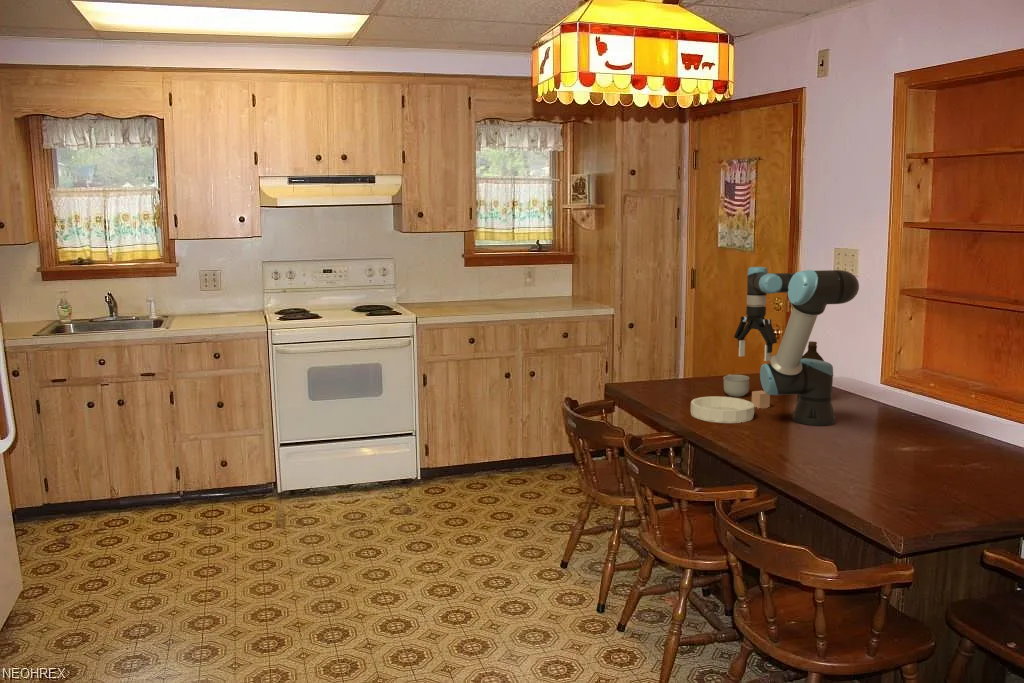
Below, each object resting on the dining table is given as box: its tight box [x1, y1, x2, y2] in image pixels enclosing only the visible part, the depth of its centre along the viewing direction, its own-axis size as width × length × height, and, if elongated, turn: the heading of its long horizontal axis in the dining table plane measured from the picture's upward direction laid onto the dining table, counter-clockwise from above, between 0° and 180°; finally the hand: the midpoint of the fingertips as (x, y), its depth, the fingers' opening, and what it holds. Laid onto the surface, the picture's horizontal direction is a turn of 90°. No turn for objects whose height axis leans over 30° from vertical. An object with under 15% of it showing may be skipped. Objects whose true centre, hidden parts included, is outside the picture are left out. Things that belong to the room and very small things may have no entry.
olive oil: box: [796, 341, 825, 402], centre depth 357 cm, size 11×11×25 cm
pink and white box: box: [751, 390, 771, 409], centre depth 351 cm, size 5×5×6 cm
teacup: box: [722, 374, 751, 398], centre depth 372 cm, size 14×11×8 cm
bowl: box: [690, 395, 755, 424], centre depth 336 cm, size 23×23×5 cm
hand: (754, 358), depth 350 cm, fingers open, 13 cm apart
